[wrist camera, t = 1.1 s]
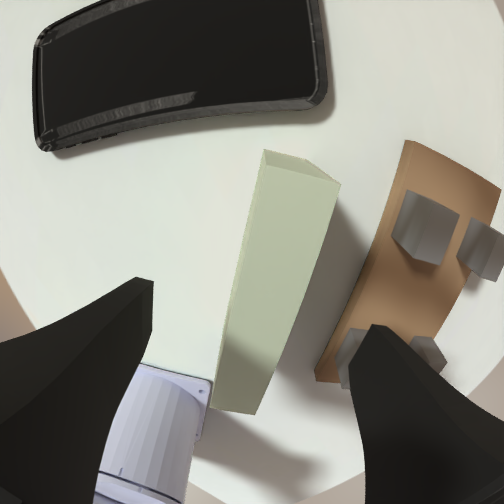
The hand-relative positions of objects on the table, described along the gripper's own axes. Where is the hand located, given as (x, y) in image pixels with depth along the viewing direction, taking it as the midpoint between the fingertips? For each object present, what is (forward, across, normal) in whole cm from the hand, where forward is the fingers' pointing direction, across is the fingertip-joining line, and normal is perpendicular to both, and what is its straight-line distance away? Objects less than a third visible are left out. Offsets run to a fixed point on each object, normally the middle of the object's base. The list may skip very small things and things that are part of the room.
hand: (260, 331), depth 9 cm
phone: (+7, +7, -9) cm, 13 cm away
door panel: (+6, 0, 0) cm, 6 cm away
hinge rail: (+6, -9, 0) cm, 11 cm away
